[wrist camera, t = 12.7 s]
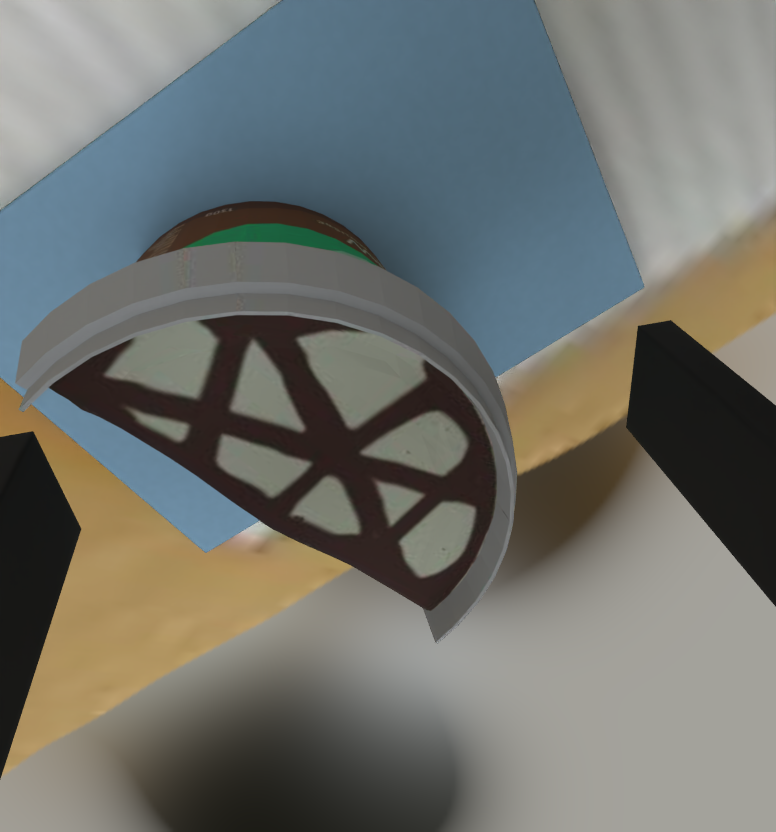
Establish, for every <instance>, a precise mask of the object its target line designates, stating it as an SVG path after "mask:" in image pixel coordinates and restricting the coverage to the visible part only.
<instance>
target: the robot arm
mask: <svg viewBox="0 0 776 832" xmlns="http://www.w3.org/2000/svg"><path fill="white" fill-rule="evenodd" d="M626 428H627V429H628V430H629V431H630V432H631V433H632V435H633V436H634V437H635V438H636V440H637V441H638V442H639V443H640V444H641V446H642V447H643V448H644V449H645V450H646V452H647V453H648V454H649V455H650V456H651V458H652V459H653V460H654V461H655V462H656V464H657V465H658V466H659V467H660V468H661V470H662V471H663V472H664V473H665V474H666V476H667V477H668V478H669V479H670V480H671V482H672V483H673V484H674V485H675V486H676V488H677V489H678V490H679V491H680V492H681V494H682V495H683V496H684V497H685V498H686V499H687V501H688V502H689V503H690V504H691V506H692V507H693V508H694V509H695V510H696V512H697V513H698V514H699V515H700V516H701V518H702V519H703V520H704V521H705V522H706V523H707V525H708V526H709V527H710V528H711V529H712V531H713V532H714V533H715V534H716V536H717V537H718V538H719V539H720V540H721V542H722V543H723V544H724V545H725V546H726V548H727V549H728V550H729V551H730V552H731V554H732V555H733V556H734V557H735V558H736V560H737V561H738V562H739V563H740V564H741V566H742V567H743V568H744V569H745V570H746V571H747V573H748V574H749V575H750V576H751V578H752V579H753V580H754V581H755V582H756V584H757V585H758V586H759V587H760V588H761V590H762V591H763V592H764V593H765V594H766V596H767V597H768V598H769V599H770V600H771V602H772V603H773V604H774V605H775V606H776V405H774V404H773V403H772V402H771V401H769V400H768V399H767V398H766V397H765V396H763V395H762V394H761V393H760V392H758V391H757V390H756V389H755V388H753V387H752V386H751V385H750V384H749V383H747V382H746V381H745V380H744V379H742V378H741V377H740V376H739V375H737V374H736V373H735V372H734V371H733V370H731V369H730V368H729V367H728V366H726V365H725V364H724V363H723V362H721V361H720V360H719V359H718V358H716V357H715V356H714V355H713V354H712V353H710V352H709V351H708V350H707V349H705V348H704V347H703V346H702V345H701V344H699V343H698V342H697V341H696V340H694V339H693V338H692V337H691V336H689V335H688V334H687V333H686V332H684V331H683V330H682V329H681V328H680V327H678V326H677V325H676V324H675V323H673V322H672V321H671V320H670V321H664V322H659V323H653V324H647V325H641V326H638V331H637V340H636V348H635V357H634V365H633V374H632V382H631V391H630V400H629V408H628V417H627V426H626ZM80 531H81V528H80V525H79V523H78V521H77V519H76V517H75V515H74V513H73V511H72V509H71V507H70V505H69V503H68V501H67V499H66V497H65V495H64V493H63V491H62V489H61V487H60V485H59V483H58V481H57V479H56V477H55V475H54V473H53V471H52V469H51V467H50V465H49V463H48V461H47V459H46V456H45V454H44V452H43V450H42V448H41V446H40V444H39V442H38V440H37V438H36V436H35V434H34V432H33V431H32V432H27V433H21V434H15V435H9V436H4V437H0V778H1V775H2V772H3V769H4V766H5V763H6V760H7V757H8V754H9V751H10V748H11V744H12V741H13V738H14V735H15V732H16V729H17V726H18V723H19V720H20V717H21V714H22V710H23V707H24V704H25V701H26V698H27V695H28V692H29V689H30V686H31V683H32V680H33V676H34V673H35V670H36V667H37V664H38V661H39V658H40V655H41V652H42V649H43V646H44V642H45V639H46V636H47V633H48V630H49V627H50V624H51V621H52V618H53V615H54V612H55V608H56V605H57V602H58V599H59V596H60V593H61V590H62V587H63V584H64V581H65V577H66V574H67V571H68V568H69V565H70V562H71V559H72V556H73V553H74V550H75V547H76V543H77V540H78V537H79V534H80Z"/></svg>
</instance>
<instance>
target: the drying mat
mask: <svg viewBox="0 0 776 832" xmlns="http://www.w3.org/2000/svg"><path fill="white" fill-rule="evenodd" d="M248 201H270V202H280V203H286V204H292V205H297V206H301V207H304V208H307V209H310V210H313V211H316V212H318V213H321V214H323V215H325V216H327V217H329V218H331V219H333V220H334V221H336V222H338V223H340V224H342V225H343V226H345V227H346V228H347V229H348V230H350V231H351V232H352V233H353V234H355V235H356V236H357V237H359V238H360V239H361V240H362V241H363V242H364V244H365V245H366V246H367V247H368V248H369V249H370V250H371V251H372V252H373V253H374V255H375V256H376V257H377V258H378V260H379V261H380V262H381V264H382V265H383V266H384V268H385V269H386V270H387V271H388V272H390V273H392V274H394V275H395V276H397V277H399V278H401V279H403V280H405V281H407V282H408V283H410V284H412V285H414V286H416V287H418V288H419V289H420V290H421V291H423V292H424V293H425V294H427V295H428V296H429V297H430V298H432V299H433V300H434V301H435V302H437V303H438V304H439V305H441V306H442V307H443V308H444V309H446V310H447V311H448V312H450V314H451V315H452V316H453V317H454V318H455V319H456V320H457V321H458V323H459V324H460V325H461V326H462V327H463V328H464V329H465V330H466V332H467V333H468V334H469V335H470V336H471V337H472V338H473V339H474V341H475V342H476V344H477V345H478V347H479V349H480V350H481V352H482V354H483V355H484V357H485V359H486V360H487V362H488V364H489V365H490V367H491V369H492V370H493V372H494V375H495V378H496V377H497V376H499V375H500V374H502V373H504V372H505V371H507V370H509V369H510V368H512V367H514V366H515V365H517V364H519V363H520V362H522V361H524V360H525V359H527V358H529V357H530V356H532V355H533V354H535V353H537V352H538V351H540V350H542V349H543V348H545V347H547V346H548V345H550V344H552V343H553V342H555V341H557V340H558V339H560V338H562V337H563V336H565V335H566V334H568V333H570V332H571V331H573V330H575V329H576V328H578V327H580V326H581V325H583V324H585V323H586V322H588V321H590V320H591V319H593V318H595V317H596V316H598V315H599V314H601V313H603V312H604V311H606V310H608V309H609V308H611V307H613V306H614V305H616V304H618V303H619V302H621V301H623V300H624V299H626V298H628V297H629V296H631V295H632V294H634V293H636V292H637V291H639V290H641V289H642V288H644V284H643V281H642V278H641V276H640V273H639V271H638V268H637V266H636V263H635V260H634V258H633V255H632V253H631V250H630V247H629V245H628V242H627V240H626V237H625V234H624V232H623V229H622V227H621V224H620V222H619V219H618V216H617V214H616V211H615V209H614V206H613V203H612V201H611V198H610V196H609V193H608V190H607V188H606V185H605V183H604V180H603V177H602V175H601V172H600V170H599V167H598V165H597V162H596V159H595V157H594V154H593V152H592V149H591V146H590V144H589V141H588V139H587V136H586V133H585V131H584V128H583V126H582V123H581V121H580V118H579V115H578V113H577V110H576V108H575V105H574V102H573V100H572V97H571V95H570V92H569V89H568V87H567V84H566V82H565V79H564V77H563V74H562V71H561V69H560V66H559V64H558V61H557V58H556V56H555V53H554V51H553V48H552V45H551V43H550V40H549V38H548V35H547V32H546V30H545V27H544V25H543V22H542V20H541V17H540V14H539V12H538V9H537V7H536V4H535V1H534V0H282V1H281V2H279V3H278V4H277V5H275V6H274V7H273V8H271V9H270V10H269V11H267V12H266V13H264V14H263V15H262V16H260V17H259V18H258V19H256V20H255V21H254V22H252V23H251V24H250V25H248V26H247V27H246V28H244V29H243V30H242V31H240V32H239V33H238V34H236V35H235V36H234V37H232V38H231V39H230V40H228V41H227V42H226V43H224V44H223V45H222V46H220V47H219V48H218V49H216V50H215V51H214V52H212V53H211V54H210V55H208V56H207V57H206V58H204V59H203V60H201V61H200V62H199V63H197V64H196V65H195V66H193V67H192V68H191V69H189V70H188V71H187V72H185V73H184V74H183V75H181V76H180V77H179V78H177V79H176V80H175V81H173V82H172V83H171V84H169V85H168V86H167V87H165V88H164V89H163V90H161V91H160V92H159V93H157V94H156V95H155V96H153V97H152V98H151V99H149V100H148V101H147V102H145V103H144V104H143V105H141V106H140V107H138V108H137V109H136V110H134V111H133V112H132V113H130V114H129V115H128V116H126V117H125V118H124V119H122V120H121V121H120V122H118V123H117V124H116V125H114V126H113V127H112V128H110V129H109V130H108V131H106V132H105V133H104V134H102V135H101V136H100V137H98V138H97V139H96V140H94V141H93V142H92V143H90V144H89V145H88V146H86V147H85V148H84V149H82V150H81V151H80V152H78V153H77V154H75V155H74V156H73V157H71V158H70V159H69V160H67V161H66V162H65V163H63V164H62V165H61V166H59V167H58V168H57V169H55V170H54V171H53V172H51V173H50V174H49V175H47V176H46V177H45V178H43V179H42V180H41V181H39V182H38V183H37V184H35V185H34V186H33V187H31V188H30V189H29V190H27V191H26V192H25V193H23V194H22V195H21V196H19V197H18V198H17V199H15V200H14V201H12V202H11V203H10V204H8V205H7V206H6V207H4V208H3V209H2V210H0V378H2V379H3V380H4V381H5V382H6V383H7V384H9V385H10V386H11V387H12V388H13V389H14V390H16V391H17V392H18V393H19V394H20V395H22V396H23V397H24V396H25V394H26V391H27V390H26V389H24V388H23V387H21V386H19V385H17V384H15V381H16V374H17V368H18V362H19V356H20V350H21V344H22V341H23V340H24V339H25V338H26V337H27V335H28V334H29V333H30V332H31V331H32V330H33V329H34V328H35V327H36V326H37V325H38V324H39V323H40V322H41V321H42V320H43V319H44V318H45V317H46V316H47V315H48V314H49V313H50V312H51V311H53V310H54V309H55V308H57V307H58V306H60V305H61V304H62V303H64V302H65V301H67V300H68V299H69V298H71V297H72V296H74V295H75V294H76V293H78V292H79V291H81V290H82V289H83V288H85V287H86V286H88V285H89V284H91V283H93V282H95V281H97V280H99V279H102V278H104V277H106V276H108V275H110V274H112V273H114V272H116V271H118V270H120V269H122V268H124V267H127V266H129V265H131V264H133V263H135V262H136V261H137V260H138V259H139V258H140V257H141V256H142V255H143V253H144V252H145V251H146V250H147V249H148V248H149V247H150V246H151V245H152V244H153V243H154V242H155V241H156V240H157V239H158V238H159V237H160V236H162V235H163V234H165V233H166V232H167V231H169V230H170V229H172V228H173V227H174V226H176V225H177V224H178V223H180V222H182V221H184V220H186V219H188V218H190V217H192V216H194V215H196V214H198V213H200V212H203V211H206V210H210V209H213V208H216V207H219V206H223V205H227V204H234V203H241V202H248ZM32 405H33V406H34V407H36V408H37V409H38V410H39V411H40V412H41V413H43V414H44V415H45V416H46V417H47V418H48V419H50V420H51V421H52V422H53V423H54V424H55V425H57V426H58V427H59V428H60V429H61V430H62V431H64V432H65V433H66V434H67V435H68V436H69V437H71V438H72V439H73V440H74V441H75V442H76V443H78V444H79V445H80V446H81V447H82V448H84V449H85V450H86V451H87V452H88V453H89V454H91V455H92V456H93V457H94V458H95V459H96V460H98V461H99V462H100V463H101V464H102V465H103V466H105V467H106V468H107V469H108V470H109V471H110V472H112V473H113V474H114V475H115V476H116V477H117V478H119V479H120V480H121V481H122V482H123V483H124V484H126V485H127V486H128V487H129V488H130V489H131V490H133V491H134V492H135V493H136V494H137V495H139V496H140V497H141V498H142V499H143V500H144V501H146V502H147V503H148V504H149V505H150V506H151V507H153V508H154V509H155V510H156V511H157V512H158V513H160V514H161V515H162V516H163V517H164V518H165V519H167V520H168V521H169V522H170V523H171V524H172V525H174V526H175V527H176V528H177V529H178V530H179V531H181V532H182V533H183V534H184V535H185V536H186V537H188V538H189V539H190V540H191V541H192V542H194V543H195V544H196V545H197V546H198V547H199V548H201V549H202V550H203V551H204V552H205V553H207V552H208V551H210V550H212V549H213V548H215V547H217V546H218V545H220V544H222V543H223V542H225V541H227V540H228V539H230V538H232V537H233V536H235V535H236V534H238V533H240V532H241V531H243V530H245V529H246V528H248V527H250V526H251V525H253V524H255V523H256V522H258V521H260V520H258V519H257V518H255V517H254V516H252V515H251V514H249V513H248V512H246V511H245V510H243V509H242V508H240V507H239V506H237V505H236V504H235V503H233V502H232V501H230V500H229V499H228V498H226V497H225V496H223V495H222V494H221V493H219V492H218V491H217V490H215V489H214V488H212V487H211V486H210V485H208V484H207V483H205V482H204V481H203V480H201V479H200V478H199V477H197V476H196V475H194V474H193V473H191V472H190V471H188V470H187V469H185V468H184V467H182V466H181V465H179V464H178V463H176V462H175V461H173V460H172V459H170V458H169V457H167V456H165V455H164V454H162V453H161V452H159V451H157V450H156V449H154V448H152V447H151V446H149V445H147V444H146V443H144V442H142V441H141V440H139V439H138V438H136V437H134V436H133V435H131V434H129V433H128V432H126V431H124V430H123V429H121V428H119V427H117V426H115V425H113V424H111V423H110V422H108V421H106V420H104V419H102V418H100V417H98V416H96V415H93V414H91V413H88V412H86V411H83V410H81V409H80V408H79V407H77V406H76V405H75V404H73V403H72V402H71V401H69V400H68V399H66V398H64V397H63V396H61V395H59V394H57V393H56V392H54V391H53V390H51V389H50V388H48V389H47V390H46V391H44V392H43V393H42V394H41V395H40V396H39V397H38V398H37V399H36V400H35V401H34V402H33V403H32Z"/></svg>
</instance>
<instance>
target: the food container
mask: <svg viewBox="0 0 776 832" xmlns="http://www.w3.org/2000/svg"><path fill="white" fill-rule="evenodd" d="M15 384H17V385H19V386H21V387H23V388H24V389H26V390H27V391H26V394H25V396H24V398H23V401H22V403H21V405H20V408H19V410H20V411H22V412H24V411H25V410H26V409H27V408H28V407H29V406H30V405H31V404H32V403H33V402H34V401H35V400H36V399H37V398H38V397H39V396H40V395H41V394H42V393H43V392H44V391H46V390H47V389H48V388H50V389H51V390H53V391H54V392H56V393H57V394H59V395H61V396H63V397H64V398H66V399H68V400H69V401H71V402H72V403H73V404H75V405H76V406H77V407H79V408H80V409H81V410H83V411H86V412H88V413H91V414H93V415H96V416H98V417H100V418H102V419H104V420H106V421H108V422H110V423H111V424H113V425H115V426H117V427H119V428H121V429H123V430H124V431H126V432H128V433H129V434H131V435H133V436H134V437H136V438H138V439H139V440H141V441H142V442H144V443H146V444H147V445H149V446H151V447H152V448H154V449H156V450H157V451H159V452H161V453H162V454H164V455H165V456H167V457H169V458H170V459H172V460H173V461H175V462H176V463H178V464H179V465H181V466H182V467H184V468H185V469H187V470H188V471H190V472H191V473H193V474H194V475H196V476H197V477H199V478H200V479H201V480H203V481H204V482H205V483H207V484H208V485H210V486H211V487H212V488H214V489H215V490H217V491H218V492H219V493H221V494H222V495H223V496H225V497H226V498H228V499H229V500H230V501H232V502H233V503H235V504H236V505H237V506H239V507H240V508H242V509H243V510H245V511H246V512H248V513H249V514H251V515H252V516H254V517H255V518H257V519H258V520H260V521H261V522H263V523H264V524H265V525H267V526H269V527H270V528H272V529H274V530H276V531H278V532H280V533H282V534H284V535H286V536H288V537H290V538H292V539H294V540H296V541H298V542H300V543H302V544H305V545H307V546H309V547H311V548H314V549H316V550H318V551H321V552H323V553H325V554H328V555H330V556H332V557H334V558H337V559H339V560H341V561H343V562H345V563H347V564H349V565H351V566H353V567H355V568H357V569H358V570H360V571H362V572H363V573H365V574H367V575H368V576H370V577H372V578H374V579H375V580H377V581H379V582H380V583H382V584H384V585H386V586H387V587H389V588H391V589H392V590H394V591H396V592H397V593H399V594H401V595H402V596H404V597H406V598H407V599H409V600H411V601H412V602H414V603H416V604H417V605H419V606H421V607H422V608H423V609H424V612H425V615H426V618H427V620H428V623H429V626H430V629H431V632H432V634H433V637H434V640H435V642H436V643H439V642H440V641H441V640H442V639H443V638H445V637H446V636H447V635H448V634H449V633H450V632H451V631H452V630H454V629H455V628H456V627H457V626H458V625H459V624H460V623H461V622H462V620H463V619H464V618H465V617H466V616H467V615H468V614H469V613H470V611H471V610H472V609H473V608H474V607H475V606H476V604H477V603H478V602H479V601H480V599H481V598H482V596H483V595H484V593H485V591H486V590H487V588H488V587H489V585H490V584H491V582H492V580H493V579H494V577H495V575H496V573H497V571H498V568H499V566H500V564H501V562H502V559H503V557H504V555H505V552H506V550H507V546H508V542H509V538H510V533H511V529H512V525H513V518H514V506H515V500H516V481H517V468H516V461H515V454H514V447H513V441H512V436H511V431H510V427H509V422H508V417H507V412H506V408H505V403H504V400H503V397H502V395H501V392H500V389H499V386H498V384H497V381H496V378H495V375H494V372H493V370H492V369H491V367H490V365H489V364H488V362H487V360H486V359H485V357H484V355H483V354H482V352H481V350H480V349H479V347H478V345H477V344H476V342H475V341H474V339H473V338H472V337H471V336H470V335H469V334H468V333H467V332H466V330H465V329H464V328H463V327H462V326H461V325H460V324H459V323H458V321H457V320H456V319H455V318H454V317H453V316H452V315H451V314H450V312H448V311H447V310H446V309H444V308H443V307H442V306H441V305H439V304H438V303H437V302H435V301H434V300H433V299H432V298H430V297H429V296H428V295H427V294H425V293H424V292H423V291H421V290H420V289H419V288H418V287H416V286H414V285H412V284H410V283H408V282H407V281H405V280H403V279H401V278H399V277H397V276H395V275H394V274H392V273H390V272H388V271H387V270H386V269H385V268H384V266H383V265H382V264H381V262H380V261H379V260H378V258H377V257H376V256H375V255H374V253H373V252H372V251H371V250H370V249H369V248H368V247H367V246H366V245H365V244H364V242H363V241H362V240H361V239H360V238H359V237H357V236H356V235H355V234H353V233H352V232H351V231H350V230H348V229H347V228H346V227H345V226H343V225H342V224H340V223H338V222H336V221H334V220H333V219H331V218H329V217H327V216H325V215H323V214H321V213H318V212H316V211H313V210H310V209H307V208H304V207H301V206H297V205H292V204H286V203H280V202H270V201H248V202H241V203H234V204H227V205H223V206H219V207H216V208H213V209H210V210H206V211H203V212H200V213H198V214H196V215H194V216H192V217H190V218H188V219H186V220H184V221H182V222H180V223H178V224H177V225H176V226H174V227H173V228H172V229H170V230H169V231H167V232H166V233H165V234H163V235H162V236H160V237H159V238H158V239H157V240H156V241H155V242H154V243H153V244H152V245H151V246H150V247H149V248H148V249H147V250H146V251H145V252H144V253H143V255H142V256H141V257H140V258H139V259H138V260H137V261H136V262H135V263H133V264H131V265H129V266H127V267H124V268H122V269H120V270H118V271H116V272H114V273H112V274H110V275H108V276H106V277H104V278H102V279H99V280H97V281H95V282H93V283H91V284H89V285H88V286H86V287H85V288H83V289H82V290H81V291H79V292H78V293H76V294H75V295H74V296H72V297H71V298H69V299H68V300H67V301H65V302H64V303H62V304H61V305H60V306H58V307H57V308H55V309H54V310H53V311H51V312H50V313H49V314H48V315H47V316H46V317H45V318H44V319H43V320H42V321H41V322H40V323H39V324H38V325H37V326H36V327H35V328H34V329H33V330H32V331H31V332H30V333H29V334H28V335H27V337H26V338H25V339H24V340H23V341H22V344H21V350H20V356H19V362H18V368H17V374H16V381H15Z"/></svg>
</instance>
